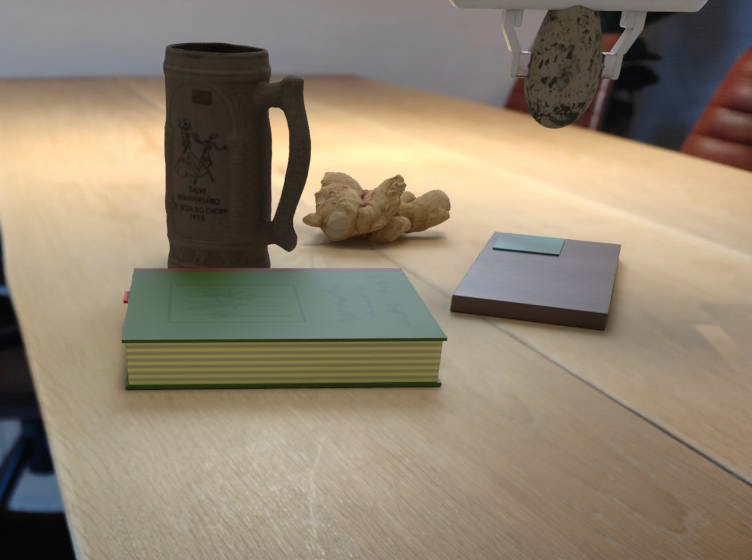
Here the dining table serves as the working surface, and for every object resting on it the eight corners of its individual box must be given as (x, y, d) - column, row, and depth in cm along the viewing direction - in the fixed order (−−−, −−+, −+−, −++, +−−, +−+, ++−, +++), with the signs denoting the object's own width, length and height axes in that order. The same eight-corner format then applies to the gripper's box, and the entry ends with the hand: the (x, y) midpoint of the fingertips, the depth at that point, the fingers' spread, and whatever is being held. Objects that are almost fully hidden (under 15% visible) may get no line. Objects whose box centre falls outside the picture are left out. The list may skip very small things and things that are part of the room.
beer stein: (142, 275, 92) (141, 41, 80) (188, 249, 100) (194, 33, 88) (282, 305, 89) (304, 66, 76) (318, 277, 97) (344, 56, 84)
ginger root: (267, 225, 104) (281, 147, 101) (339, 236, 116) (354, 166, 113) (382, 255, 97) (401, 172, 93) (446, 262, 109) (465, 190, 106)
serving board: (492, 245, 105) (494, 229, 104) (618, 258, 101) (621, 242, 100) (449, 310, 85) (452, 292, 84) (604, 330, 82) (608, 311, 81)
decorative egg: (598, 134, 75) (628, -16, 69) (526, 133, 75) (549, -17, 68) (578, 123, 79) (604, -18, 73) (510, 122, 79) (531, -19, 73)
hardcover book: (396, 309, 85) (401, 268, 83) (440, 386, 70) (447, 337, 68) (128, 310, 83) (125, 268, 81) (115, 389, 69) (111, 339, 66)
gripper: (729, -139, 68) (678, 76, 77) (457, -141, 69) (435, 71, 78) (760, -146, 63) (701, 84, 72) (465, -148, 64) (442, 80, 73)
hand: (561, 78), depth 75 cm, fingers closed on decorative egg, 6 cm apart
